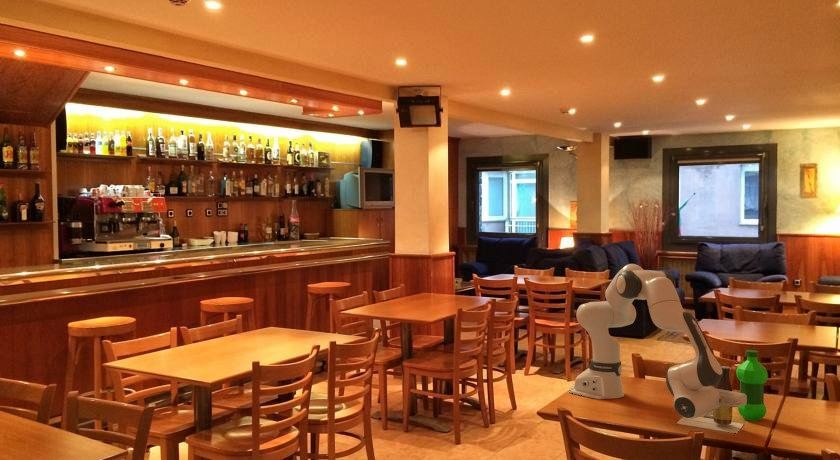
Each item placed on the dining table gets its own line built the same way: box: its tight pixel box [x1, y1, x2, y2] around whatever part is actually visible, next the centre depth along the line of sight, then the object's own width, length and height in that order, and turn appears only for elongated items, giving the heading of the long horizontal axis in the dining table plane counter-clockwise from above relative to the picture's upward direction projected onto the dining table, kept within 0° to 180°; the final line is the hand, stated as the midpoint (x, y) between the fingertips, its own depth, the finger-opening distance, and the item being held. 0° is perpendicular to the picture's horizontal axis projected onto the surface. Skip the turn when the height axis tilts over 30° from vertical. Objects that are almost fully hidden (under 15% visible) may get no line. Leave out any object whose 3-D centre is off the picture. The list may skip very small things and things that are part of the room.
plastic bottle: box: [736, 349, 769, 422], centre depth 253 cm, size 10×10×25 cm
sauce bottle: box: [712, 365, 734, 425], centre depth 245 cm, size 6×6×20 cm
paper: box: [676, 416, 745, 435], centre depth 248 cm, size 20×12×1 cm, turn 54°
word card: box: [703, 412, 714, 419], centre depth 256 cm, size 8×5×1 cm, turn 54°
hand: (724, 391), depth 245 cm, fingers closed on sauce bottle, 6 cm apart
